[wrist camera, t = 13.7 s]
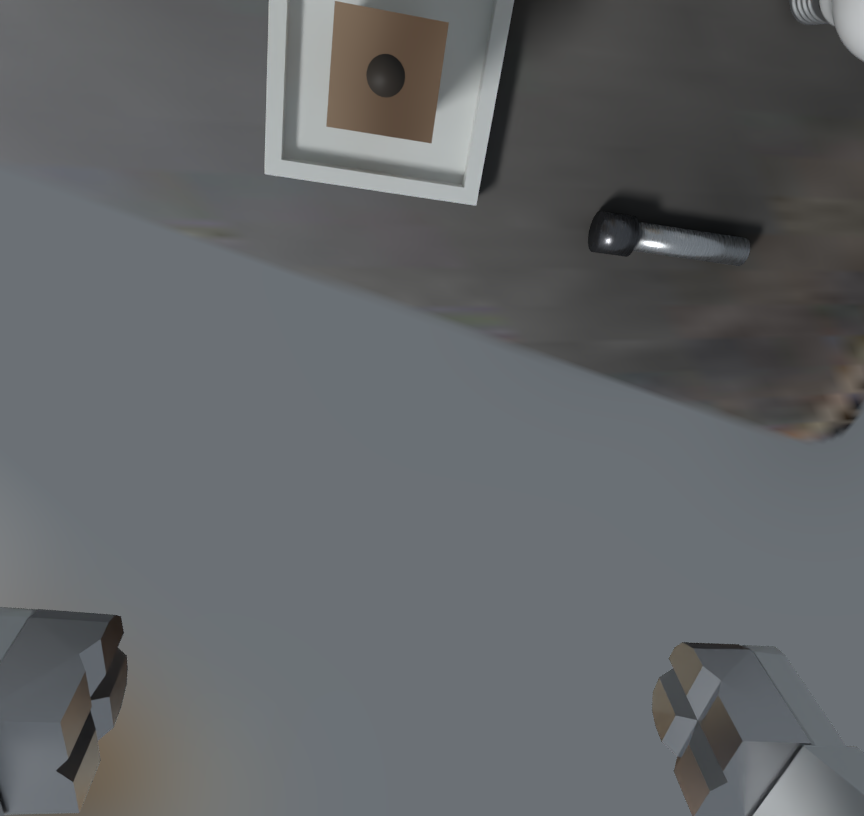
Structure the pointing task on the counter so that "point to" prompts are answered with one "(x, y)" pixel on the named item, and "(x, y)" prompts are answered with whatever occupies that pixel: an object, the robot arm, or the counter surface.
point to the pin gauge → (663, 240)
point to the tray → (375, 154)
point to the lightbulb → (835, 19)
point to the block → (385, 72)
